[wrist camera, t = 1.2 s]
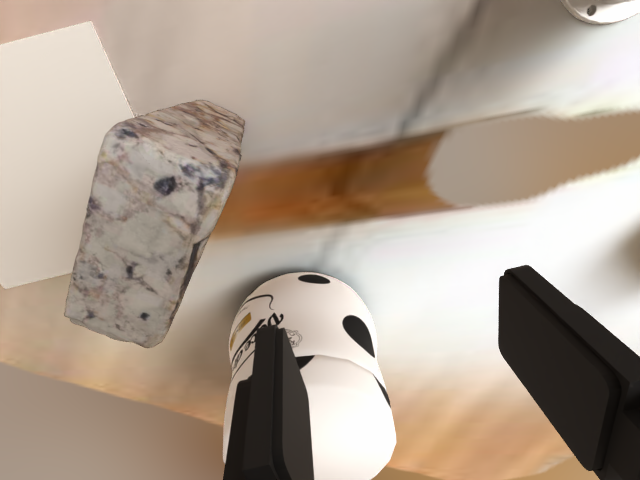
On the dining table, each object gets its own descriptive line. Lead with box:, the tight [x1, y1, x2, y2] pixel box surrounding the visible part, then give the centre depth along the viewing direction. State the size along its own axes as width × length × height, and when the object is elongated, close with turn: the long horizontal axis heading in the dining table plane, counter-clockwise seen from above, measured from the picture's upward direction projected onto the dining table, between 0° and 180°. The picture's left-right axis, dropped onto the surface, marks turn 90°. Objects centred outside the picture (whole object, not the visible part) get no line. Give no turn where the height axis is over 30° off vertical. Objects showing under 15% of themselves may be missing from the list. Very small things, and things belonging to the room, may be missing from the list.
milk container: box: [223, 272, 396, 480], centre depth 39 cm, size 17×17×18 cm
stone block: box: [64, 100, 245, 348], centre depth 28 cm, size 13×7×20 cm, turn 159°
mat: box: [0, 21, 135, 289], centre depth 36 cm, size 22×22×1 cm
